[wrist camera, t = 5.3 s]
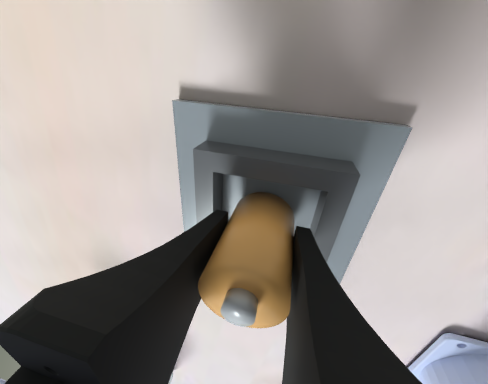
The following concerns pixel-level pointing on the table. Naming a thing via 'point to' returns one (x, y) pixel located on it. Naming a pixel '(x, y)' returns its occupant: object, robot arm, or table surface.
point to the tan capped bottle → (252, 264)
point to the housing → (287, 167)
